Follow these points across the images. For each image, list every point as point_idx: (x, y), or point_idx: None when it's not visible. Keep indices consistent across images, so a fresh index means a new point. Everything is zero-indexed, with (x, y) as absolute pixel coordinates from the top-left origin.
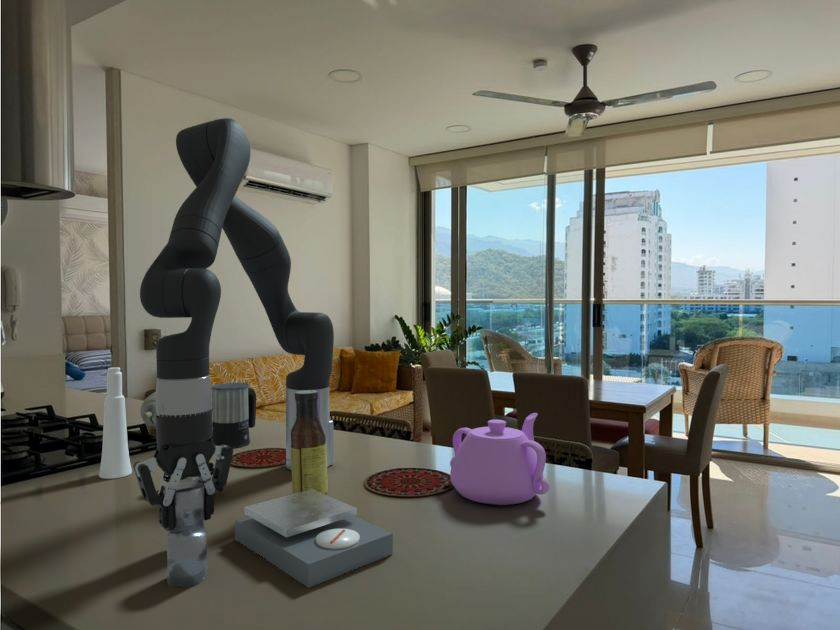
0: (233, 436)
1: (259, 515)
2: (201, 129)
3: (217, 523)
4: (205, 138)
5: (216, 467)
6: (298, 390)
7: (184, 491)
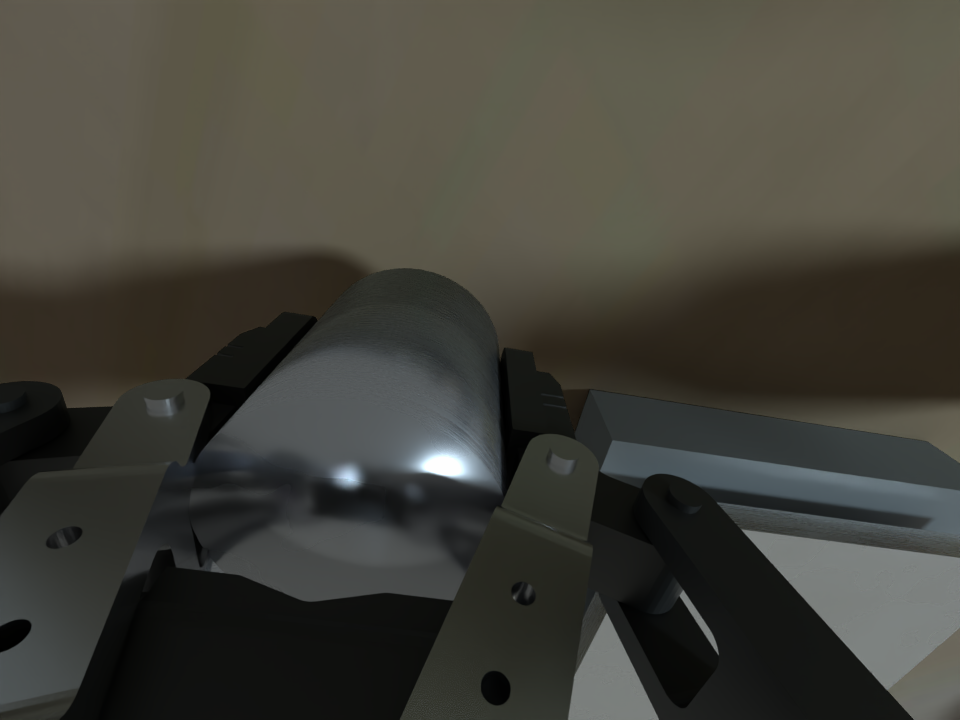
0: None
1: (603, 618)
2: None
3: (700, 160)
4: None
5: (721, 671)
6: None
7: (290, 593)
